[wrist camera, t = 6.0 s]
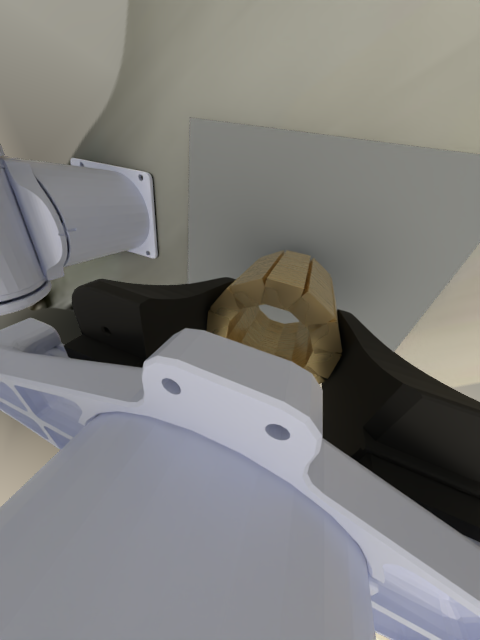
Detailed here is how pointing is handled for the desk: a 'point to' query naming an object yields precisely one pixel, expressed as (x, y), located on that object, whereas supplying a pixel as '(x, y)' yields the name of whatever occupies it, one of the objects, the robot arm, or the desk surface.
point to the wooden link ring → (288, 294)
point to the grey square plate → (334, 215)
